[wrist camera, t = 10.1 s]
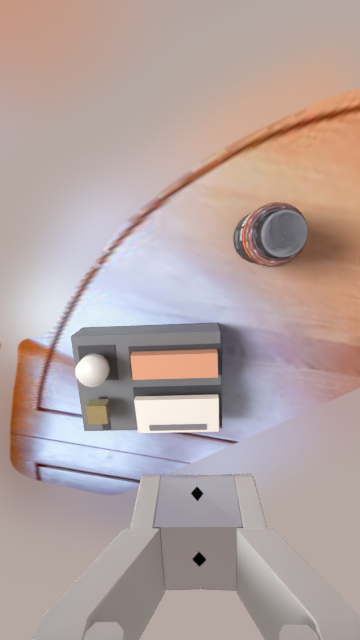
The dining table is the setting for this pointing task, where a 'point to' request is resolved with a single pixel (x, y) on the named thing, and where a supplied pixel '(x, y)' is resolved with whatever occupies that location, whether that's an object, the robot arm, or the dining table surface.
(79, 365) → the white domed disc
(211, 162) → the dining table surface
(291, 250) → the supplement bottle
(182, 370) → the terracotta button
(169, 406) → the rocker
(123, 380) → the panel
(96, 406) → the slider knob
